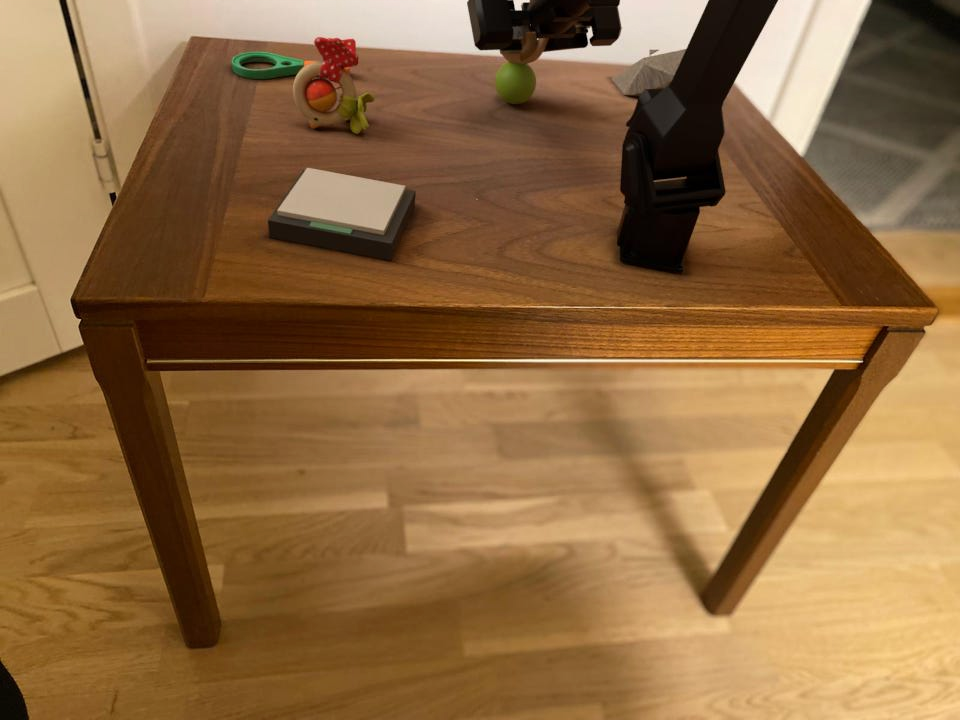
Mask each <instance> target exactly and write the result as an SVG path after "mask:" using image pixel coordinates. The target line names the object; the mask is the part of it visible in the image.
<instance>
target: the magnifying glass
mask: <svg viewBox="0 0 960 720" xmlns="http://www.w3.org/2000/svg"><path fill="white" fill-rule="evenodd" d="M315 61H316V60H303V59H298V58H295V57H290V56H286V55H281V54H277V53H273V52H267V51H248V52H242V53H240V54H236V55H234V56H233V58H231V67H232V71H233V72H234V74H236V75H238V76H240V77H243V78H246V79H253V80H267V79H274V78H281V77H288V76H294V75H297V74H298V73H299V71H300V70H301V69H302V68H303V67H305V66H306V65H307V64H309V63H312V62H315ZM250 62H266V63H267V62H268V63H271V64H274V66H272V67H269V68H261V69H256V68H255V69H253V68H247V67H245V66H242V65H244V64H246V63H250ZM344 69H345V70H346V71H347V72H348V74H349V75H350V74H351V67H346V68H344ZM350 76H351V75H350Z"/></svg>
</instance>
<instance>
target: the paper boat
mask: <svg viewBox="0 0 960 720" xmlns="http://www.w3.org/2000/svg"><path fill="white" fill-rule="evenodd" d="M686 49H687V48H684V49H679V50H675V51H669V52H664V53H659V54H655V53H657V52H658V51H660V49H649V51H648V52H649V56H645V57H642V58H640V59H639V60H638V61H636V62H635V63H633V64H631V65H630V66H628V67H626V68H625V69H623V70H622V71H620V72H619V73H617V74H616V75H613V77H611V78H610V79H611V81H612V82H613V83H614V84H615V86H616V87H617V88H618V89H619V91H620V92H621V93H622V95H624V96H636V97H639V96H640V95H641V93H642V92H643V91H644V90H645V89H656V88H666V87H667V86H668V85H669V84H670V83H671V81H672V79H673V77H674V75H675V73H676V70H677V68H678V66H679V64H680V62H681V60H682V57H683V55H684V53H685V51H686ZM653 54H655V55H653Z"/></svg>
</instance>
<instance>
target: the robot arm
mask: <svg viewBox="0 0 960 720" xmlns="http://www.w3.org/2000/svg"><path fill="white" fill-rule="evenodd" d="M514 1H515V0H467V1H466V6H467V12H468V17H469V21H470V27H471V33H472V38H473V43H474V47H476V49H478V50H479V51H499V54H500V55H502V54H507V53H511V52H516V51H520V50H522V44H521V39H522V38H523V37H524V35H525V33H536V38H537V42H538V41H539V39H540V38H549V40H548V42H547V45H546V47H545V49H544V51H543V53H548V52H556V51H566V50H568V51H569V50H576V49H586V48H587V47H588V45H589V44H590V45H591V46H592V47H609V46H610V47H611V46H612V45H613V44H614V43H615V42H616V41H617V40H619V38H620V36H621V34H622V29H623V28H622V22H621V17H620V11H619V6H620V4H621V0H529V2H527V1H525V2H522V3H521V4H520V8H521V9H516V6H515V2H514ZM778 2H779V0H707V3H706V5H705V7H704V9H703V11H702V14H701V16H700V18H699V20H698V23H697V24H696V26H695V29H694V32H693V34H692V36H691V38H690V40H689V42H688V44H687V46H686V48H685V49H686V51H685V53H684V55H683V57H682V60H681V62H680V64H679V66H678V68H677V70H676V73H675V75H674V77H673V79H672V81H671V83H670V84H669V85H668V86H667V87H666V88H656V89H645V90H644V91H643V92H642V93H641V95H640V96H638V98H637V101H636V105H635V107H634V111H633V113H632V115H631V116H630V118H629V119H628V120H627V121H626V123H625V126H626V128H627V127H628V130H627V131H626V133H625V137H624V140H623V143H622V149H621V163H620V166H621V167H620V180H619V181H620V182H619V192H620V193H621V194H622V195H623V196H624V200H623V204H624V206H623V210H622V214H621V217H620V221H619V224H618V226H617V227H618V228H617V231H616V246H617V247H618V248H619V261H620V262H621V263H624V264H630V265H635V266H639V267H646V268H651V269H656V270H660V271H661V270H662V271H666V272H672V273H677V274H682V273H683V272H684V270H685V254H686V251H687V249H688V247H689V244H690V241H691V238H692V236H693V233H694V231H695V226H696V225H697V223H698V219H699V216H700V213H701V209H700V208H704V207H716V206H717V205H718V204H719V203H720V202H721V201H722V200H723V198H724V197H725V195H726V191H727V190H726V186H725V179H724V173H723V169H722V163H721V158H720V153H719V149H720V147H721V143H722V141H723V138H724V136H725V132H726V130H725V121H724V112H723V111H724V110H723V106H724V102H725V100H726V99H727V97H728V95H729V93H730V91H731V89H732V88H733V86H734V84H735V82H736V80H737V78H738V76H739V75H740V72H741V71H742V69H743V67H744V65H745V63H746V61H747V59H748V57H749V56H750V54H751V52H752V50H753V48H754V47H755V44H756V43H757V41H758V39H759V37H760V35H761V33H762V32H763V30H764V28H765V26H766V24H767V22H768V20H769V18H770V17H771V15H772V13H773V12H774V10H775V7H776V5H777V4H778ZM589 29H591V33H592V35H591V37H590V38H588V33H589Z"/></svg>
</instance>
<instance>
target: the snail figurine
mask: <svg viewBox="0 0 960 720" xmlns="http://www.w3.org/2000/svg"><path fill="white" fill-rule="evenodd" d="M538 39H539V38H538ZM538 39H537V38H536V33H525V35H524V37H523V38H522V39H521V44H522V50H520V51H516V52H511V53H507V54H501V55H502V57H503V58H504V59H505V60H506V61H507V62H505V63H503V64H502V65H501V66H500V67H499V69H498V70H497V71H496V75H495V78H494V87H495V90H496V93H497V95H498V96H499V98H500V99H501V100H502V101H504V102H506V103H508V104H510V105H520V104H523V103H525V102H527V101H529V99H530V98H531V97H532V96H533V95H534V93H535V91H536V87H537V75H536V73H535V71H534V69H533V68H532V66H531V65H530V64H531V63H534V62H536V61H538V60H539V58H540V57H541V56H542V55H543V53H544V52H543V51H544V49H545V47H546V45H547V42H548V40H549V38H540V39H539V41H538V42H537V40H538Z"/></svg>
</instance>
